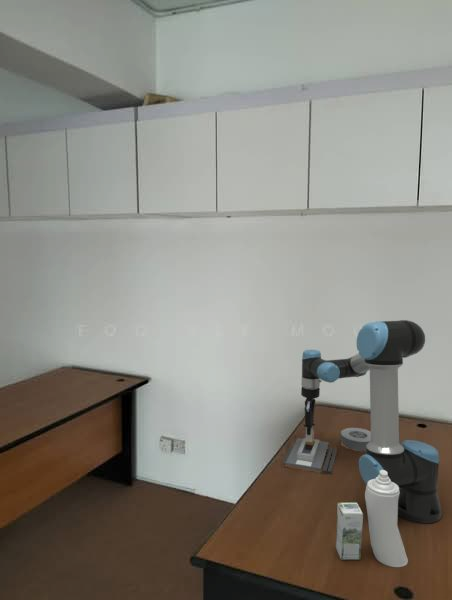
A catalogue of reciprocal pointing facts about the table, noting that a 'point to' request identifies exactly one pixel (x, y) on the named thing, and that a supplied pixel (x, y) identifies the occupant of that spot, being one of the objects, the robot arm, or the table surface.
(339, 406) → the table surface
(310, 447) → the breaker toggle
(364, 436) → the tape roll
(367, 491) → the spray can
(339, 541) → the syrup box
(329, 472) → the breaker panel
